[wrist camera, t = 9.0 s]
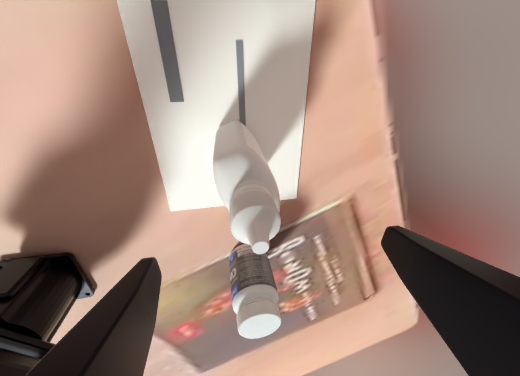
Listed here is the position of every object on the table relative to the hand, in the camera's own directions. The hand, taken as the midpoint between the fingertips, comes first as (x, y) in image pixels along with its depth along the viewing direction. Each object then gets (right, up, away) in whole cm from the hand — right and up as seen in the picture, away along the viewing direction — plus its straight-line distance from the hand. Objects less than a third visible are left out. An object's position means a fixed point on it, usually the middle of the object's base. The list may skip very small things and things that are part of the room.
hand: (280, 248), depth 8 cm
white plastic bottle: (-3, +6, +11) cm, 13 cm away
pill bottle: (-2, -6, +18) cm, 19 cm away
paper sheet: (-3, +9, +9) cm, 13 cm away
